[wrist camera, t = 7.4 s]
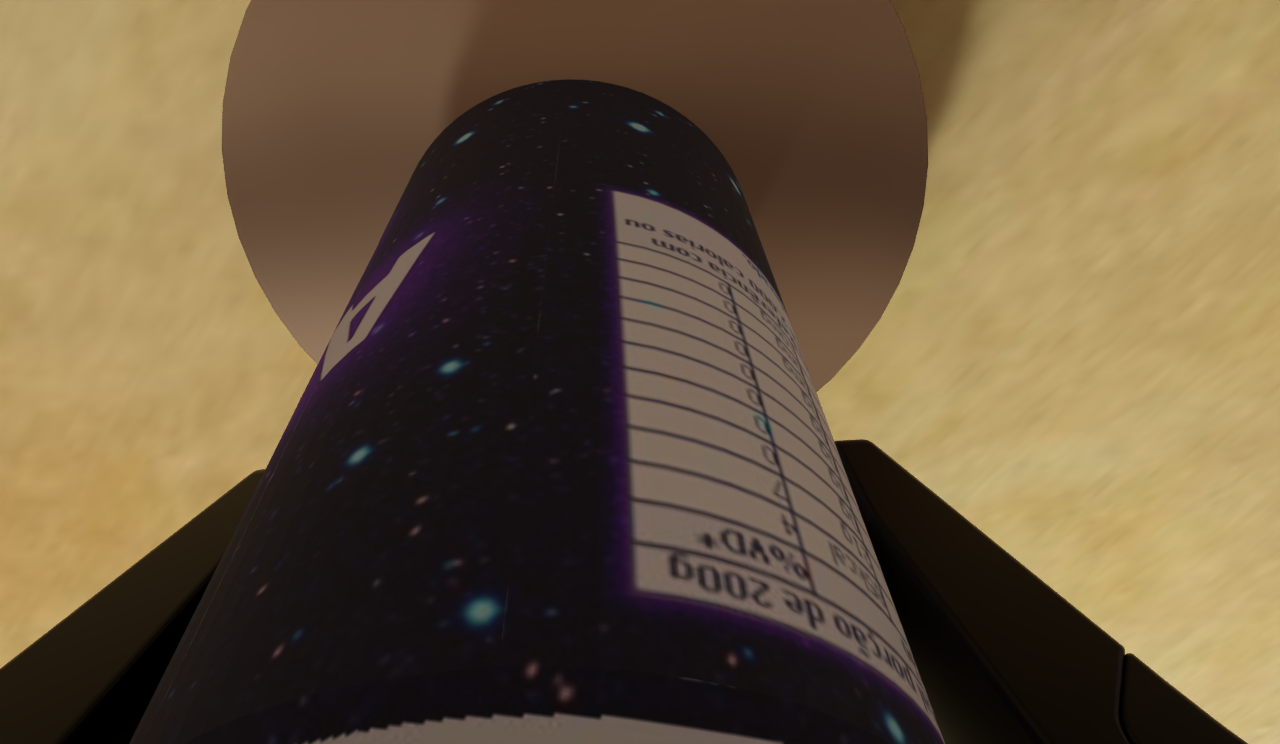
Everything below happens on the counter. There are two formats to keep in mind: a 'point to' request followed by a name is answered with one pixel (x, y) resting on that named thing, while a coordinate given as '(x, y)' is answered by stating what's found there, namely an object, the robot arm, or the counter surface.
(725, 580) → the beverage can
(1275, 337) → the counter surface
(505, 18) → the walnut base
